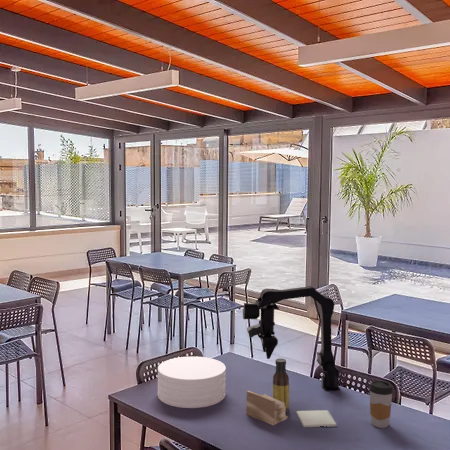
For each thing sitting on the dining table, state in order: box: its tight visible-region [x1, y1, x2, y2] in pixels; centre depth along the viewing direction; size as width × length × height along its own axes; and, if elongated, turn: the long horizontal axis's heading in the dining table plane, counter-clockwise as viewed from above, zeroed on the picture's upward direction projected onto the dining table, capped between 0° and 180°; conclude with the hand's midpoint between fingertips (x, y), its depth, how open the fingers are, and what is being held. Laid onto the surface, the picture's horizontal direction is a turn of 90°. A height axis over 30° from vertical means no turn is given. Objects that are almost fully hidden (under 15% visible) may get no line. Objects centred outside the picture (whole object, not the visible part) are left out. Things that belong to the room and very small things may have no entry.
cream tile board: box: [296, 409, 337, 428], centre depth 196 cm, size 12×12×1 cm
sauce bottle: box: [272, 358, 290, 413], centre depth 203 cm, size 6×6×20 cm
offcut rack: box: [245, 390, 288, 426], centre depth 198 cm, size 9×13×9 cm
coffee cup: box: [368, 380, 394, 429], centre depth 192 cm, size 8×8×15 cm
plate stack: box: [157, 355, 227, 409], centre depth 218 cm, size 28×28×12 cm
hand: (266, 355), depth 224 cm, fingers open, 9 cm apart
